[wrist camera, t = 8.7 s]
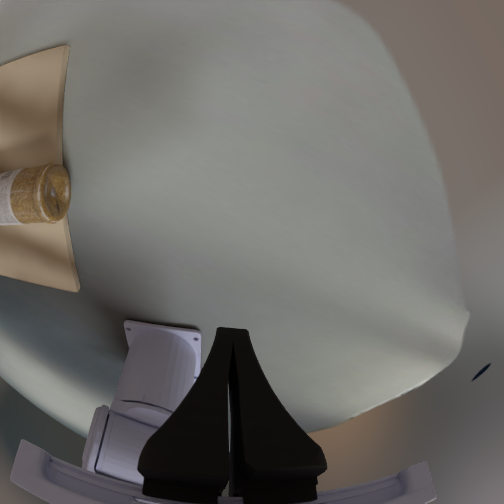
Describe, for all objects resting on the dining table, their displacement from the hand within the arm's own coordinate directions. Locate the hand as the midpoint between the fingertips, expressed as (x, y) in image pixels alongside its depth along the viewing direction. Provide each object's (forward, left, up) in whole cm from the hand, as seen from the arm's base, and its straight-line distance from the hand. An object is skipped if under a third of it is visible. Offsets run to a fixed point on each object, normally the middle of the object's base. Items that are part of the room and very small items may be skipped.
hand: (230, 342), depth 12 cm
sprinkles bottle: (+4, +13, -7) cm, 15 cm away
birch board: (+4, +24, -10) cm, 26 cm away
